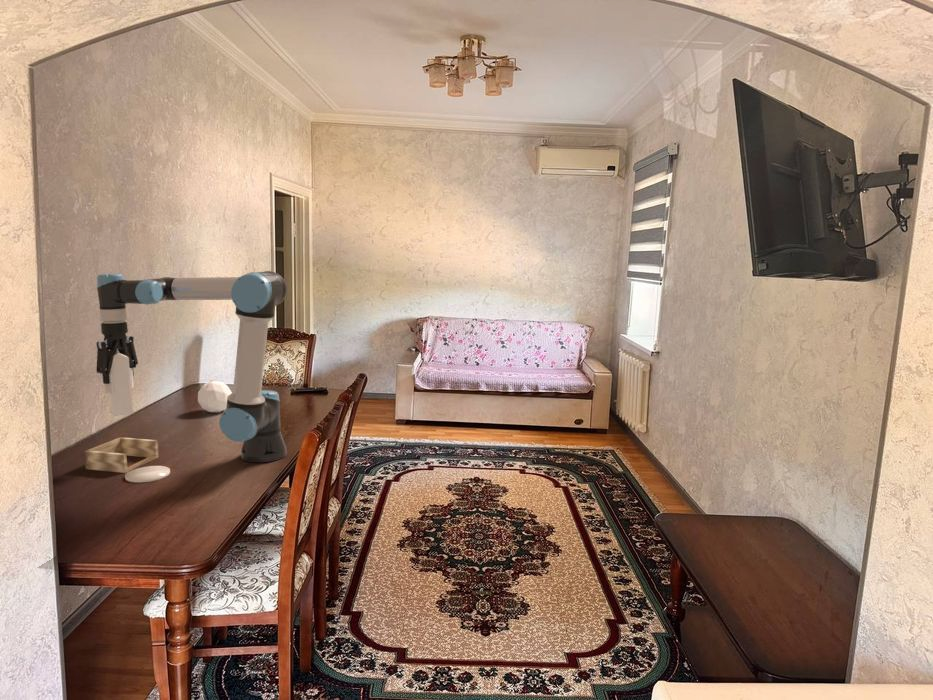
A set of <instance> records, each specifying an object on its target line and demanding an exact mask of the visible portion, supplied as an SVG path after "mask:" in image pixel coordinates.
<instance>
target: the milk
mask: <svg viewBox="0 0 933 700" xmlns="http://www.w3.org/2000/svg"><path fill="white" fill-rule="evenodd" d="M113 357H114V358H113V362H112V367H111V371H110V373H112V375H113V386H114V393H113V394H109V393H108V400H109V402H108V403H109V411H110V412H109V413H110V414H111V416H113V417H119V416H125V415H126V416H127V415H132V414H134V405H133V394H132V388H131V379H130V368H129V358H128V357H127V356H126V355H123V354H121V353H119V351H118V349H117V351H116V353H115V354H114V356H113ZM106 370H107V369H106Z"/></svg>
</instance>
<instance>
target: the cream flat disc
mask: <svg viewBox="0 0 933 700" xmlns="http://www.w3.org/2000/svg"><path fill="white" fill-rule="evenodd" d="M170 474H171V469H170V468H169V467H167V466H164V465H149V466H142V467H141V466H140V467H137V468H134V469H132V470H130V471H128V472H126V473H124V480H125V481H126V482H129V483H137V484H139V483H141V484H142V483H151V482H155V481H159V480H161V479H164V478H166V477H168V476H169V475H170Z"/></svg>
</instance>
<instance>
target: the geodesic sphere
mask: <svg viewBox="0 0 933 700" xmlns="http://www.w3.org/2000/svg"><path fill="white" fill-rule="evenodd" d="M232 392H233V391H231V389H230V387H229V386H228V385H227V384H226V383H224V382H223V381H221V380H220V381H219V380H214V379H213V380H209V381H208V382H206V383H205V384H203V385H202V386H201V388H200V389H199V391H198V392H197V403H198V404H199V405H200V406H201V408H202V409H203V410H204V411H207V412H208V413H221V412H224V411H225V410H226V407H227V398H228V396H229V395H230V394H231V393H232Z"/></svg>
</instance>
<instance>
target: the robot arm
mask: <svg viewBox="0 0 933 700" xmlns="http://www.w3.org/2000/svg"><path fill="white" fill-rule="evenodd" d="M123 275H124V274H121V273H101V274H98V275H97V278H96V282H97V283H96V285H97V287H96V289H97V295H98V296H97V298H98V303H99V315H100V321H101V323H100V329H101V330H100V331H101V334H102V335H103V337H104V338H103V340H102V341H97V342H96V343H95V344H96V349H97V353H96V355H97V356H96V369H95V370H96V373H98V374H101V375H102V383H103V384H104V393H105V394H108V395H109V394H113V393H114V386H113V375H112V373H110V371H111V367H112V362H113V358H114V357H113V356H114V354H115V353H116V351H117V349H118V352H119V353H121V354H123V355H126V356H127V357H128V358H129V368H130V379H131V389H132V388H134V387H135V384H134V383H135V382H134V375H135V374H134V373H135V372H134V368H136V367H137V365H138V364H139V361H138V356H137V353H136V348H135V344H134V342H135V340H134V339H135V338H134V336H132V335H131V336H130V335H126V334H128V332H129V331H128V330H129V328H128V322H127V320H128V317H127V308H126V307H127V306H126V304H127V305H129V304H131V305H132V304H135V305H137V304H138V305H139V304H140V305H155V304H158V303H160V302H161V301H162V302H163V301H231V300H232V303H233V304H234V305H235V315H236V316H237V318H238V319H239V325H238V326H239V327H238V336H237V337H238V338H237V345H236V346H237V348H236V357H235V367H234V368H235V369H234V379H233V389H232V391H231V392H232V393H231V394H230V395H229V396H228V398H227V407H226V409H224V410H223V411H222V413H221V414H220V417H219V419H218V425H219V428H220V430H221V431H220V432H221V433H222V434H224V436H225V437H226V438H227V439H229V440H230V441H233V442H236V443H238V442H239V443H241V442H242V443H243V444H242V447H241V451H240V455H241V456H240V457H241V460H243V461H245V462H249V463H267V462H270V463H271V462H274V461H277V460H281V459H283V458H285V457H286V456H287V455H288V454H287V453H288V452H287V450H288V449H287V445H286V443H285V441H284V438H283V435H282V431H281V410H280V409H281V406H280V405H281V401H280V395H279V393H278V392H277V391H275V390H267V389H266V390H263V389H262V387H263V379H264V369H265V368H264V367H265V358H266V350H267V341H268V339H267V338H268V330H269V329H268V328H269V322H270V321H272V320H273V319H274V318H275V311H276V306H278V305H279V304H281V303H282V302H283V301H285V299H286V297H287V293H288V286H287V282H286V281H285V279H284V278H283V277H282V276H281V275H280V274H279V273H277V272H274V271H270V270H269V271H268V270H267V271H256V272H255V271H253V272H252V271H251V272H248V273H245V274H242V275H241V276H230V277H229V276H225V277H223V276H222V277H221V276H220V277H219V276H218V277H215V276H214V277H212V276H210V277H206V276H205V277H170V276H169V277H168V276H166V277H165V276H164V277H159V278H149V279H140V280H139V279H135V280H134V279H132V280H130V279H129V280H127V279H125V278H124V276H123ZM106 369H107V370H106Z"/></svg>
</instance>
